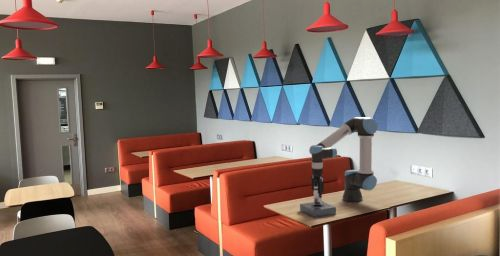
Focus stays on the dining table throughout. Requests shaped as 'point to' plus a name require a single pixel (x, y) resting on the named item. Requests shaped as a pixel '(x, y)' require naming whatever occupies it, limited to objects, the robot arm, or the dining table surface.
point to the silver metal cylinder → (316, 195)
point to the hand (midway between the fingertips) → (317, 200)
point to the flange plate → (317, 209)
